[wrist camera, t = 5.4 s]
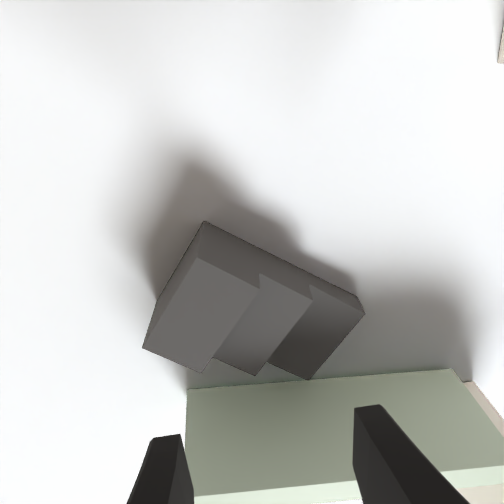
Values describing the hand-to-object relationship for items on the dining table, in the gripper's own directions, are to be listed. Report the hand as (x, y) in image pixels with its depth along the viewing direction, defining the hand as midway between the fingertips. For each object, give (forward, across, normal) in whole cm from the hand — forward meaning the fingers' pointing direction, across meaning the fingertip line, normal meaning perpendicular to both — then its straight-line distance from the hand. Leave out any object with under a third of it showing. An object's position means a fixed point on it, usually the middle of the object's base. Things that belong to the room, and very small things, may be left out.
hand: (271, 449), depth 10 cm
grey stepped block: (+10, -1, +2) cm, 10 cm away
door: (+9, -3, +8) cm, 12 cm away
